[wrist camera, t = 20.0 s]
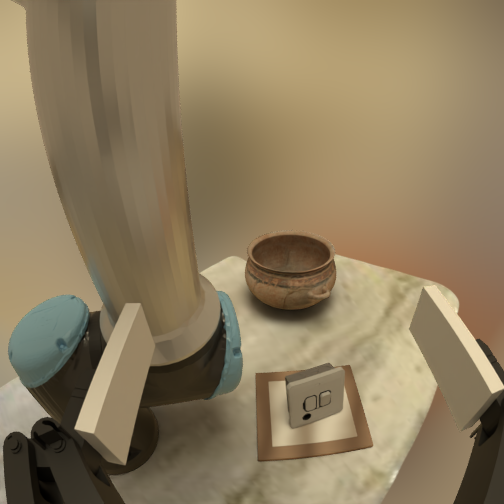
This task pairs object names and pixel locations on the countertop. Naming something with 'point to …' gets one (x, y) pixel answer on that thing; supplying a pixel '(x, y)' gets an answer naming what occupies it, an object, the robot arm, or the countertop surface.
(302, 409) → the electrical switch
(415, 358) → the countertop surface
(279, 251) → the cooking pot
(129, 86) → the robot arm
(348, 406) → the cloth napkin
